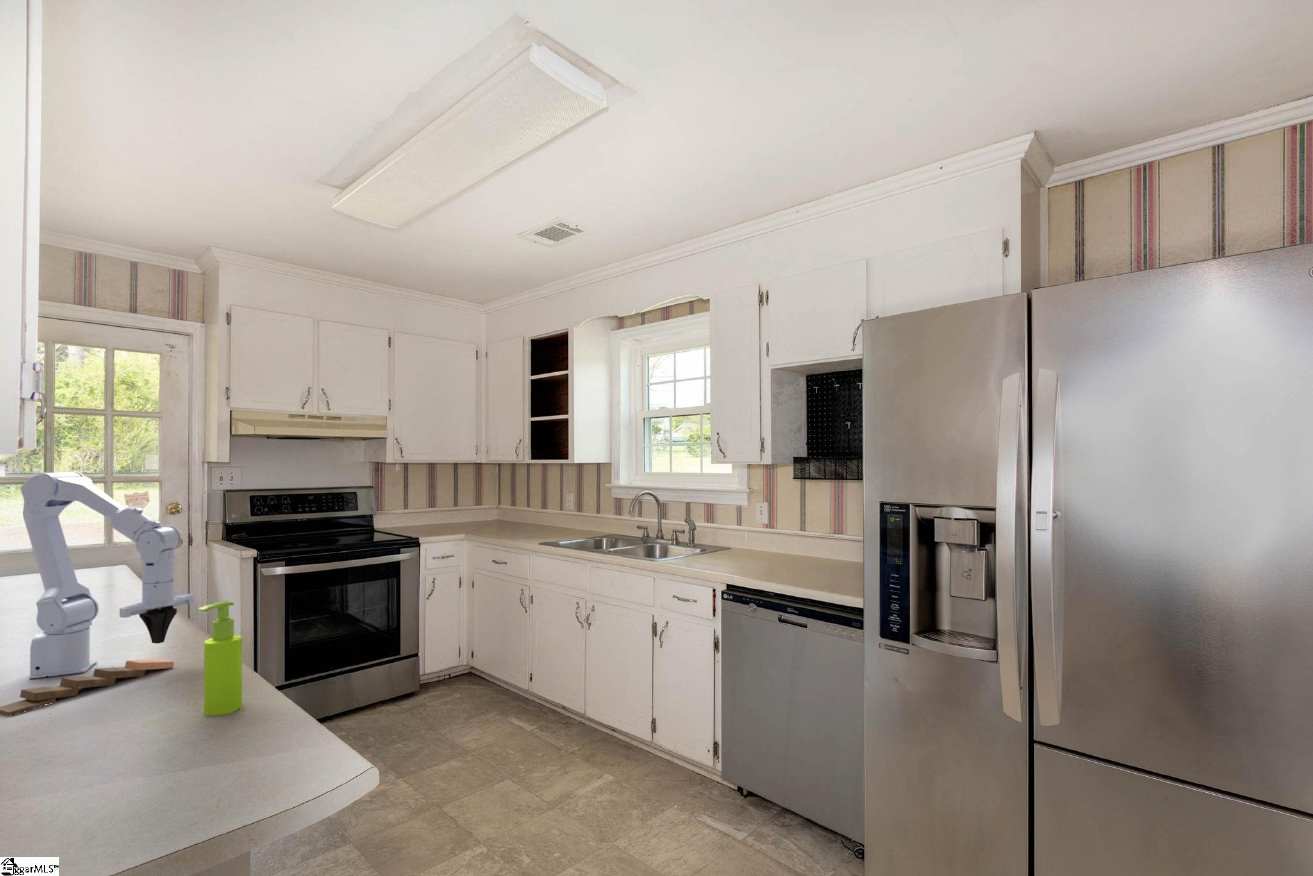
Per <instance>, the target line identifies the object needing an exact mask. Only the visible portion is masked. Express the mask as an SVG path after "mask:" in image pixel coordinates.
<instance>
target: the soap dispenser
mask: <svg viewBox="0 0 1313 876" xmlns="http://www.w3.org/2000/svg"><path fill="white" fill-rule="evenodd" d="M234 605H235V602H234V601H230V600H229V601H228V600H226V601H218V602H217V601H216V602H213V603H209V604H206V605H203V606H200V607H198V608H197V610H198V611H201V612H208V611H210V610H213V609H217V618H216V619H215V620H213V621H212V635H211V636H212V637H211V638H208V639H206V640H204V642H203V645H204V648H203V650H204V651H203V655H204V658H203V660H204V661H203V664H204V665H203V666H204V667H203V669H204V670H203V676H204V677H203V679H204V680H203V681H204V682H203V683H204V684H203V688H204V689H203V693H204V694H203V698H204V699H203V713H204V715H205V716H208V715H210V717H214V716H215V715H218V716H223V715H227V714H226V713H229V714H232V713H234V712H233V711H235V712H237V711H239V710H240V709H241V708H242V707H243V702H242V701H243V698H242V697H243V677H242V676H243V664H242V663H243V636H242V635H239V634H235V619H234V618H232V617H230V616H229V615H230V614H229V613H230V612H229V611H230V610H229V609H230V608H229V607H231V606H234ZM239 708H240V709H239ZM238 709H239V710H238ZM236 710H237V711H236ZM231 712H232V713H231Z"/></svg>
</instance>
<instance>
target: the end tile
mask: <svg viewBox="0 0 1313 876" xmlns="http://www.w3.org/2000/svg"><path fill="white" fill-rule="evenodd" d="M56 701H57V698H52V699H44V700H36V701H32V700H28V699H25V698H24V699H22V700H19V701H15V702H13V703H8V704H5V705H1V706H0V714H2V715H1V716H4V715H8V716H10V715H13V716H16V715H15V714H17V713H20V714H23V713H25V712H24V711H27V712H29V711H28V710H30V711H33V710H35V709H34V708H37V709H39V708H38V707H40V706H43V707H45V706H44V705H45V704H50V703H53V704H55V703H54V702H56ZM50 705H51V704H50ZM40 708H41V707H40ZM32 709H33V710H32ZM22 712H23V713H22ZM17 715H18V714H17ZM8 716H7V717H8ZM10 717H11V716H10Z"/></svg>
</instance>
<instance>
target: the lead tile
mask: <svg viewBox="0 0 1313 876" xmlns="http://www.w3.org/2000/svg"><path fill="white" fill-rule="evenodd" d="M125 661H126V662H125V665H124V667H125V668H131V669H137V670H145V671H146V670H160V669H161V670H162V669H163V670H164V669H165V670H166V669H172V668H171V667H173V668H174V665H175V661H173V660H167V659H163V658H162V659H161V658H156V659H155V658H153V659H152V658H151V659H135V660H134V659H131V660H125Z"/></svg>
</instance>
